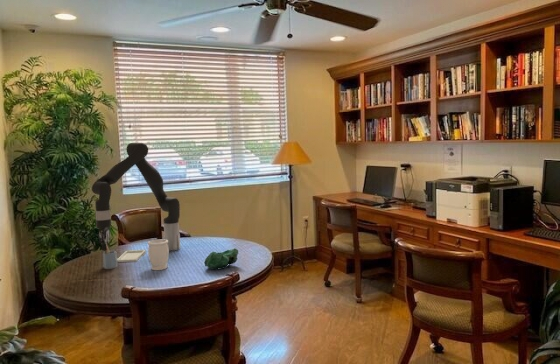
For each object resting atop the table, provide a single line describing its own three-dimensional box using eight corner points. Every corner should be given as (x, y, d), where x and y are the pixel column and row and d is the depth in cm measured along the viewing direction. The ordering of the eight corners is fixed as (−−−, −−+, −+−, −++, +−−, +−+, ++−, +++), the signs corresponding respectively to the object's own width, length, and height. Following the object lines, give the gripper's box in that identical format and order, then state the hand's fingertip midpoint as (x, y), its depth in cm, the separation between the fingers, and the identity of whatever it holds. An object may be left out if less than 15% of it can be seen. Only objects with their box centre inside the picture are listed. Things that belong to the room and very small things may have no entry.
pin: (115, 266, 236) (112, 237, 234) (114, 267, 234) (110, 238, 232) (104, 267, 235) (100, 238, 234) (102, 268, 233) (99, 239, 231)
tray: (145, 253, 266) (145, 249, 266) (136, 262, 245) (136, 259, 244) (126, 253, 265) (126, 250, 265) (116, 263, 244) (115, 260, 244)
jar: (151, 272, 226) (149, 244, 224) (147, 267, 235) (146, 240, 233) (171, 269, 231) (170, 241, 229) (167, 264, 240) (165, 238, 238)
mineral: (226, 261, 243) (226, 244, 242) (244, 266, 232) (243, 248, 231) (199, 268, 231) (198, 250, 230) (216, 274, 219) (216, 255, 218)
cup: (118, 266, 238) (117, 250, 237) (115, 269, 232) (114, 253, 231) (106, 266, 238) (105, 251, 237) (102, 270, 231) (101, 254, 230)
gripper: (106, 220, 225) (108, 252, 227) (114, 216, 239) (116, 246, 241) (91, 221, 225) (93, 253, 226) (100, 216, 238) (102, 247, 240)
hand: (105, 249), depth 233 cm, fingers closed on pin, 2 cm apart
